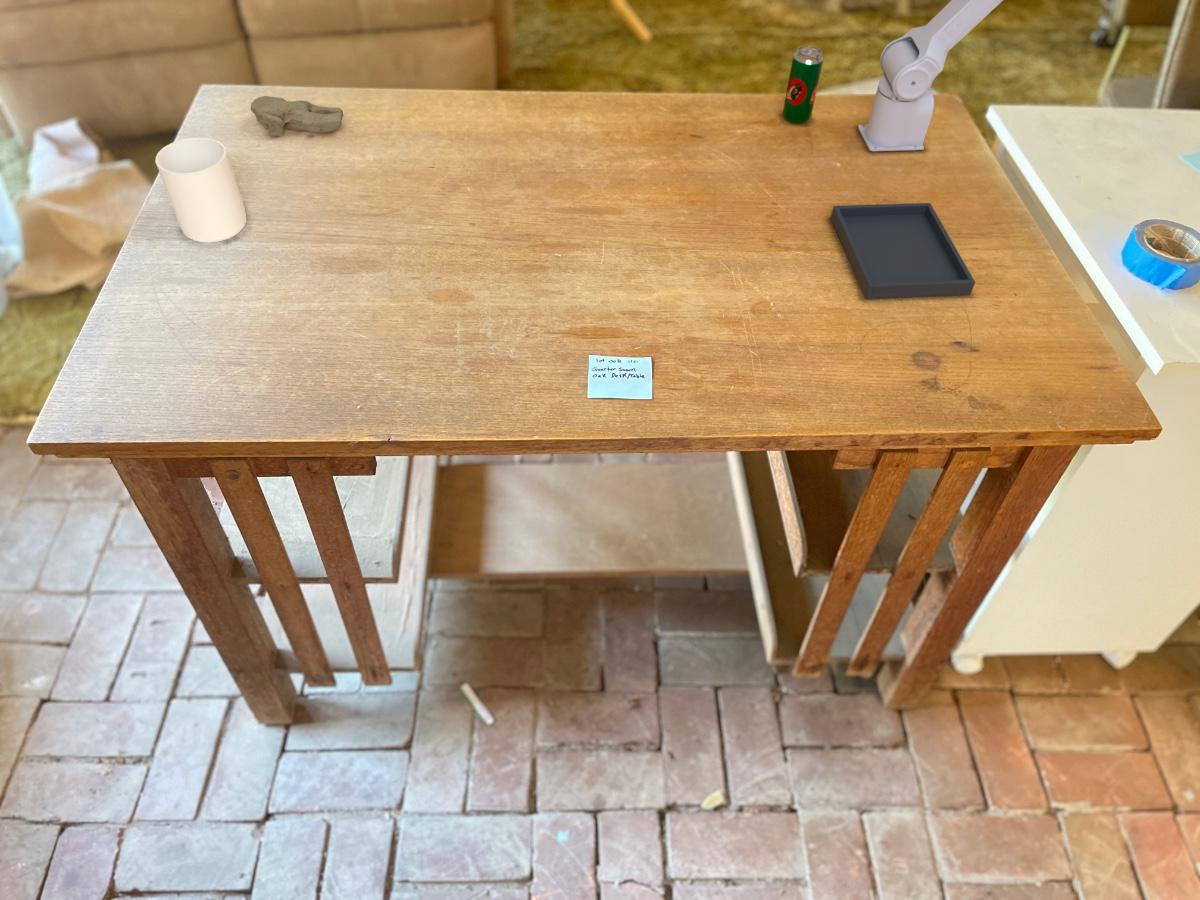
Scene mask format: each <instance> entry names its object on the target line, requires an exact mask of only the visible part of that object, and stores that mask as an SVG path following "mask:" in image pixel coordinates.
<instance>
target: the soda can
mask: <svg viewBox="0 0 1200 900" xmlns="http://www.w3.org/2000/svg"><path fill="white" fill-rule="evenodd" d="M823 64H824V57H823V51H822V50H821V49H820V48H819V47H817V46H814V45H802V46H799V47H797V49H796V52H795V53H794V54H793V55H792V60H791V66H790V71H789V76H788V81H787V86H786V92H785V98H784V103H783V107H782V113H781V114H782V117H783V119H784V120H785V121H786V122H788V123H790V124H793V125H804V124H806V123H807V122H809V121H810V120H811V119H812V114H813V110H814V105H815V101H816V96H817V92H818V87H819V83H820V77H821V74H822V68H823Z"/></svg>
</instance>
